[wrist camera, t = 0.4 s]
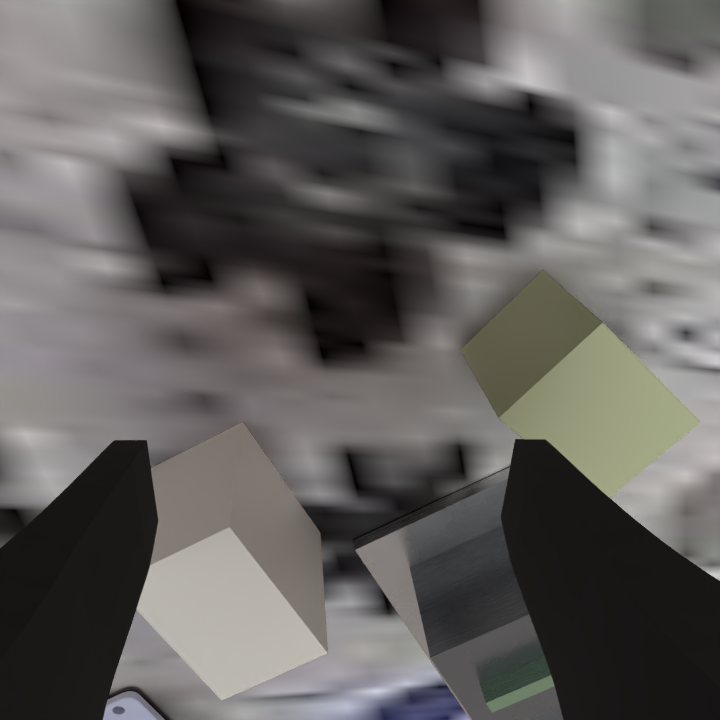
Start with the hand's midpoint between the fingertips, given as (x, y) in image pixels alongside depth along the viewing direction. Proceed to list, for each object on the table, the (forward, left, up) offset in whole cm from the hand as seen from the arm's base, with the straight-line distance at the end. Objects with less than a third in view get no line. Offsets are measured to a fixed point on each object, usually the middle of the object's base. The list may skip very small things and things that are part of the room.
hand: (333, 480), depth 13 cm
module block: (-7, -6, -11) cm, 14 cm away
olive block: (+6, -6, -11) cm, 14 cm away
